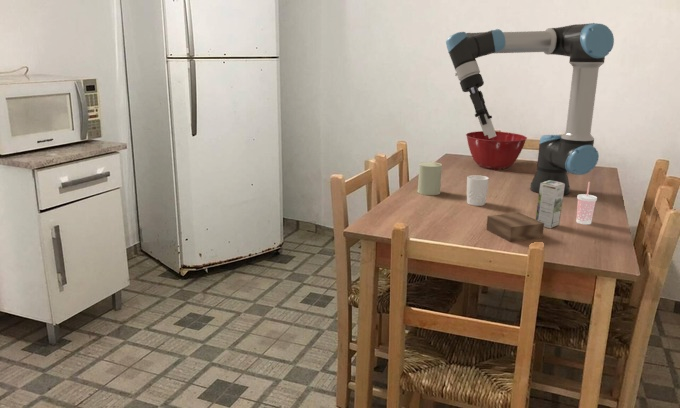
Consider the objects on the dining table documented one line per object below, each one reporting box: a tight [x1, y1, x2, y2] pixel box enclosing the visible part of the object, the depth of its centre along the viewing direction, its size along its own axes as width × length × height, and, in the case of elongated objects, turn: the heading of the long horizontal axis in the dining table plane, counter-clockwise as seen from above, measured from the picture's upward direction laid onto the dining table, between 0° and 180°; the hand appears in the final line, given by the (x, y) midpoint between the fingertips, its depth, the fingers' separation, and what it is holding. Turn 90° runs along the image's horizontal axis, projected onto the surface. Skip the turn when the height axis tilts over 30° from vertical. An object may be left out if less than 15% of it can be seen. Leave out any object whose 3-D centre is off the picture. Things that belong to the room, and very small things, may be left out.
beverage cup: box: [575, 181, 598, 225], centre depth 184 cm, size 6×6×14 cm
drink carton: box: [535, 180, 565, 229], centre depth 180 cm, size 6×6×14 cm
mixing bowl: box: [465, 130, 528, 170], centre depth 271 cm, size 28×28×16 cm
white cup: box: [466, 174, 490, 207], centre depth 206 cm, size 8×8×10 cm
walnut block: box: [486, 212, 545, 243], centre depth 173 cm, size 12×12×5 cm
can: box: [417, 161, 443, 196], centre depth 221 cm, size 9×9×12 cm
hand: (490, 135), depth 187 cm, fingers open, 13 cm apart
